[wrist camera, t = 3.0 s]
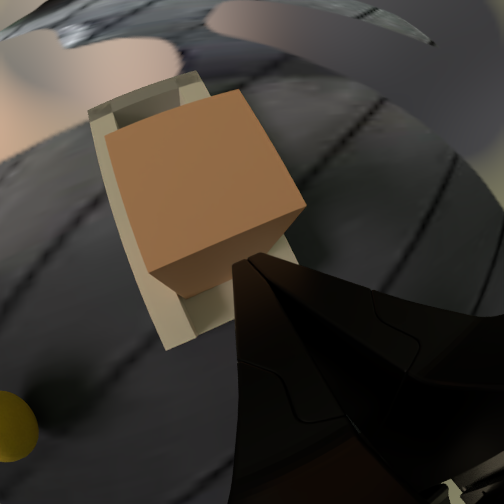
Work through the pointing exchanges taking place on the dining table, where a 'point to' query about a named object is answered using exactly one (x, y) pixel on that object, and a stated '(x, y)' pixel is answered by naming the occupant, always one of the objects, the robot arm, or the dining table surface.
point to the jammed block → (202, 190)
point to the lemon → (16, 428)
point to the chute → (153, 291)
